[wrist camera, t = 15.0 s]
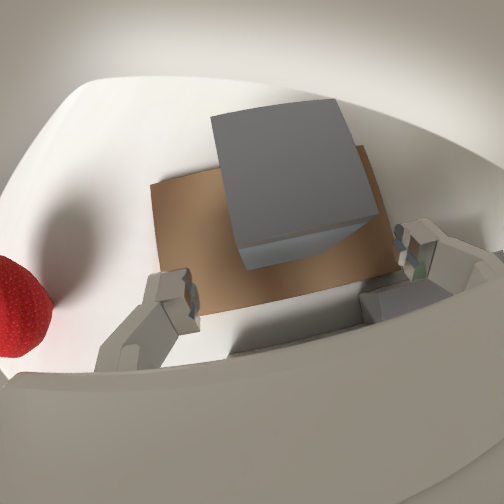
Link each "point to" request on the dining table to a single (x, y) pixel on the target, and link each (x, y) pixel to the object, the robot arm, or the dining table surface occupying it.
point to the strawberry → (21, 310)
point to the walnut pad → (229, 259)
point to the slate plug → (291, 180)
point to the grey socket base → (383, 306)
